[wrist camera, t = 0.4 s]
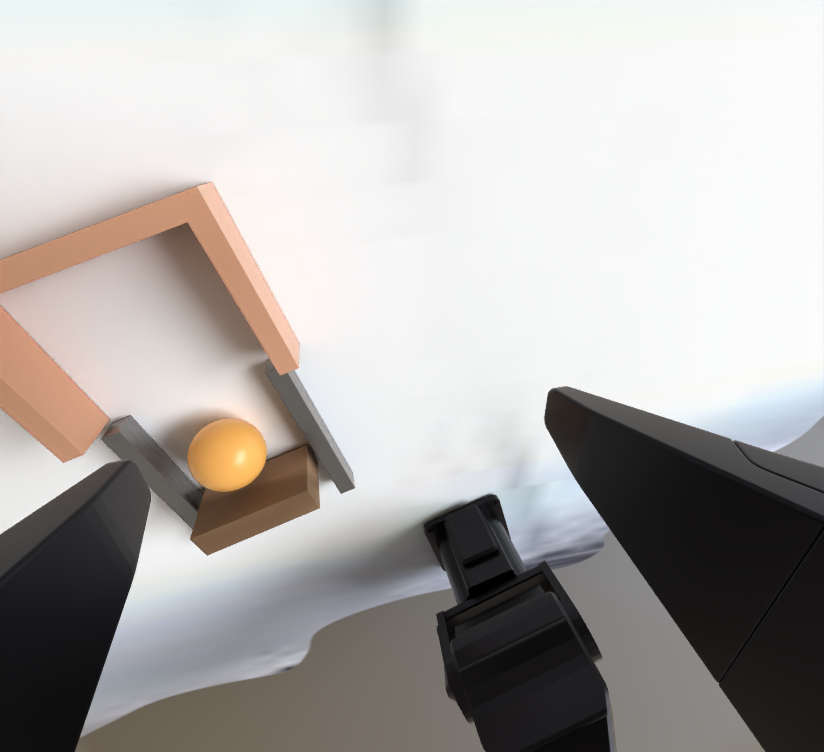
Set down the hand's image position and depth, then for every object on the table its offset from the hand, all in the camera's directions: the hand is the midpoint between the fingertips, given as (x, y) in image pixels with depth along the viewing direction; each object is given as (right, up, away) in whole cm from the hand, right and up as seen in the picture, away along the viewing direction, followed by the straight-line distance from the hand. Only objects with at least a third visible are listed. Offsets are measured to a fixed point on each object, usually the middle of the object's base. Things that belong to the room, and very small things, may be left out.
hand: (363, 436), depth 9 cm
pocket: (-12, +4, +11) cm, 17 cm away
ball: (-9, -3, +13) cm, 16 cm away
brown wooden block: (-9, -5, +17) cm, 19 cm away
